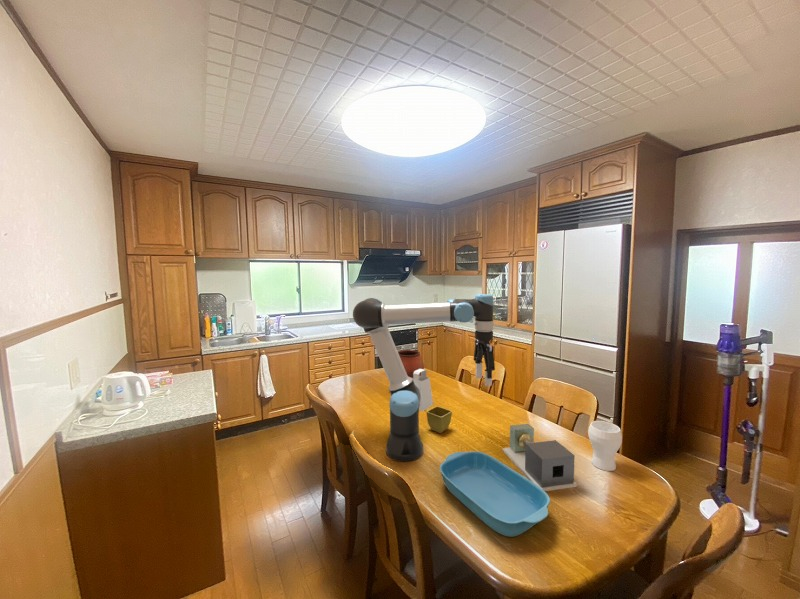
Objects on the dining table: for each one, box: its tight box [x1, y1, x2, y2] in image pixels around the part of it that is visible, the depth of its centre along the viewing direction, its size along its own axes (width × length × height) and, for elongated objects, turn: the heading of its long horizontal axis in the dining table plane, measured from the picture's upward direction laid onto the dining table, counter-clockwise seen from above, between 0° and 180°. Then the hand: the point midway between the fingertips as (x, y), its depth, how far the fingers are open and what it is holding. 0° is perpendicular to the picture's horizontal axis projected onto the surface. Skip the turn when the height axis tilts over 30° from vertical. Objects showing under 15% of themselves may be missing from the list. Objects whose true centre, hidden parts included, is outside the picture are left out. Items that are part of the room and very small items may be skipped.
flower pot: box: [426, 405, 453, 434], centre depth 150 cm, size 9×9×9 cm
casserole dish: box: [439, 450, 551, 538], centre depth 104 cm, size 37×22×7 cm, turn 32°
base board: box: [502, 446, 578, 492], centre depth 121 cm, size 26×14×1 cm, turn 10°
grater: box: [412, 368, 434, 412], centre depth 177 cm, size 10×10×20 cm
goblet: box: [397, 349, 425, 378], centre depth 197 cm, size 19×19×25 cm
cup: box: [587, 420, 623, 472], centre depth 121 cm, size 11×11×15 cm
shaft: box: [509, 423, 535, 452], centre depth 124 cm, size 18×8×9 cm, turn 10°
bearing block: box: [525, 439, 575, 488], centre depth 114 cm, size 10×12×10 cm
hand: (483, 381), depth 141 cm, fingers open, 9 cm apart
